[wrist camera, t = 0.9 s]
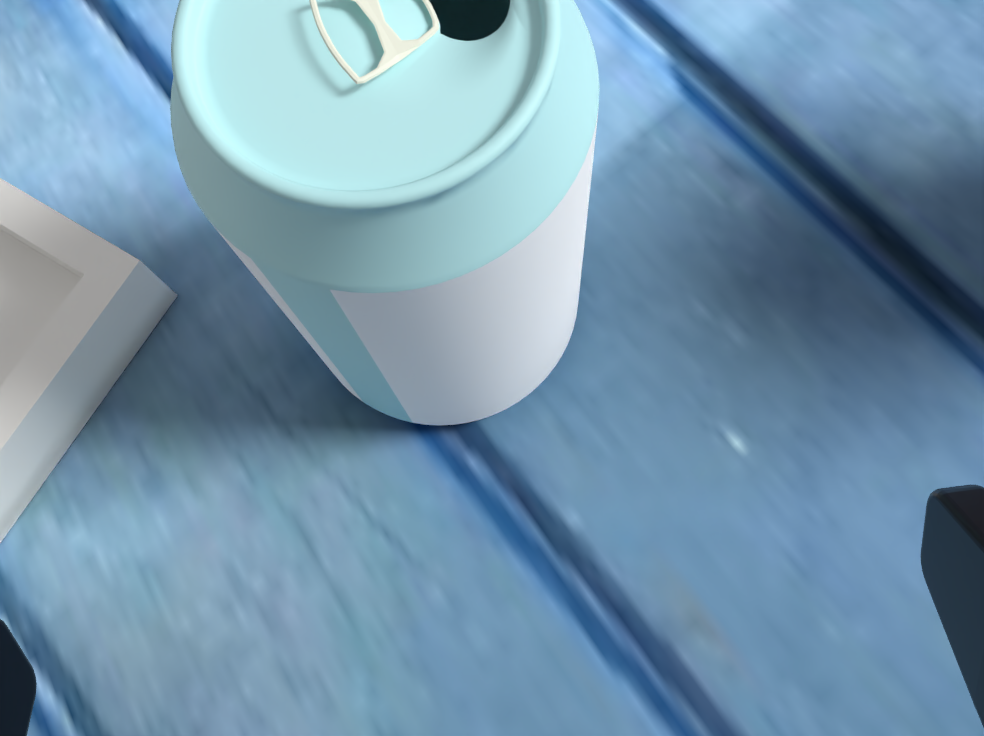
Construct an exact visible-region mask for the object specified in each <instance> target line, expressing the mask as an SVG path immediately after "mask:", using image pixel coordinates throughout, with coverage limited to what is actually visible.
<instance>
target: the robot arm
mask: <svg viewBox="0 0 984 736" xmlns="http://www.w3.org/2000/svg"><path fill="white" fill-rule="evenodd" d="M921 565H922V571H923V575H924V578H925V581H926V584H927V586H928V589H929V591H930V594H931V596H932V599H933V602H934V604H935V607H936V609H937V612H938V614H939V617H940V619H941V622H942V624H943V627H944V629H945V632H946V635H947V637H948V640H949V642H950V645H951V647H952V650H953V652H954V655H955V657H956V660H957V663H958V665H959V668H960V670H961V673H962V675H963V678H964V680H965V683H966V685H967V688H968V690H969V693H970V696H971V698H972V701H973V703H974V706H975V708H976V710H977V713H978V715H979V717H980V720H981V722H982V725H983V727H984V488H983V487H981V486H978V485H964V486H956V487H949V488H941V489H937V490H935V491H933V492H932V493H931V494H930V496H929V498H928V501H927V506H926V514H925V523H924V531H923V539H922V547H921ZM35 695H36V677H35V673H34V670H33V668H32V666H31V664H30V662H29V661H28V659H27V658H26V656H25V654H24V653H23V651H22V649H21V648H20V646H19V645H18V643H17V641H16V640H15V638H14V637H13V635H12V633H11V632H10V630H9V629H8V627H7V625H6V624H5V623H4V621H2V620H1V619H0V736H27V731H28V727H29V722H30V718H31V713H32V709H33V705H34V700H35Z"/></svg>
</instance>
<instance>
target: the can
mask: <svg viewBox="0 0 984 736" xmlns="http://www.w3.org/2000/svg"><path fill="white" fill-rule="evenodd" d="M171 58H172V70H173V76H174V78H173V84H172V91H171V106H170V110H171V127H172V134H173V140H174V146H175V152H176V155H177V159H178V162H179V166H180V169H181V172H182V174H183V177H184V179H185V182H186V184H187V186H188V188H189V190H190V192H191V194H192V196H193V198H194V199H195V201H196V203H197V204H198V206H199V207H200V209H201V210H202V212H203V213H204V214H205V216H206V217H207V219H208V220H209V221H210V222H211V224H212V225H213V226H214V227H215V228H216V230H217V231H218V232H219V233H220V235H221V236H222V237H223V238H224V240H225V241H226V242H227V243H228V244H229V246H230V247H231V248H232V249H233V251H234V252H235V253H236V254H237V256H238V257H239V258H240V259H241V261H242V262H243V263H244V264H245V265H246V267H247V268H248V269H249V270H250V272H251V273H252V274H253V275H254V277H255V278H256V279H257V280H258V281H259V283H260V284H261V285H262V286H263V288H264V289H265V290H266V291H267V293H268V294H269V295H270V296H271V297H272V299H273V300H274V301H275V302H276V304H277V305H278V306H279V307H280V309H281V310H282V311H283V312H284V313H285V315H286V316H287V317H288V318H289V320H290V321H291V322H292V323H293V325H294V326H295V327H296V328H297V329H298V331H299V332H300V333H301V334H302V336H303V337H304V338H305V339H306V341H307V342H308V343H309V344H310V345H311V347H312V348H313V349H314V350H315V352H316V353H317V354H318V355H319V357H320V358H321V359H322V360H323V361H324V363H325V364H326V365H327V366H328V368H329V369H330V370H331V371H332V373H333V374H334V375H335V376H336V377H337V379H338V380H339V381H340V382H341V383H342V384H343V385H344V386H345V387H346V388H347V389H348V390H349V391H350V392H351V393H352V394H353V395H354V396H356V397H357V398H358V399H360V400H361V401H362V402H364V403H365V404H367V405H369V406H370V407H372V408H374V409H375V410H378V411H380V412H382V413H384V414H386V415H388V416H391V417H394V418H397V419H400V420H404V421H408V422H412V423H418V424H425V425H455V424H462V423H468V422H472V421H476V420H480V419H483V418H486V417H489V416H492V415H494V414H496V413H499V412H501V411H503V410H505V409H507V408H509V407H510V406H512V405H514V404H516V403H517V402H519V401H520V400H522V399H523V398H524V397H526V396H527V395H528V394H530V393H531V392H532V391H533V390H534V389H535V388H536V387H538V386H539V385H540V384H541V383H542V382H543V380H544V379H545V378H546V377H547V376H548V375H549V374H550V372H551V371H552V370H553V368H554V367H555V366H556V364H557V363H558V361H559V359H560V358H561V356H562V355H563V353H564V351H565V349H566V347H567V344H568V342H569V340H570V337H571V334H572V332H573V328H574V324H575V320H576V315H577V308H578V300H579V290H580V280H581V271H582V261H583V252H584V242H585V232H586V223H587V213H588V204H589V194H590V184H591V175H592V165H593V156H594V146H595V136H596V127H597V117H598V107H599V76H598V66H597V61H596V56H595V51H594V47H593V44H592V41H591V38H590V34H589V31H588V29H587V27H586V25H585V22H584V20H583V18H582V15H581V13H580V11H579V9H578V7H577V5H576V4H575V2H574V0H180V1H179V5H178V8H177V12H176V15H175V20H174V26H173V31H172V44H171Z"/></svg>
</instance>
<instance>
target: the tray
mask: <svg viewBox="0 0 984 736" xmlns="http://www.w3.org/2000/svg"><path fill="white" fill-rule="evenodd" d="M177 296H178V295H177V294H176V293H175V292H174V291H173V290H172V289H171V288H169V287H168V286H167V285H166V284H165V283H164V282H163V281H162V280H161V279H160V278H159V277H158V276H156V275H155V274H154V273H153V272H152V271H151V270H150V269H149V268H148V267H147V266H146V265H145V264H143V263H142V262H141V261H140V260H139V259H137V258H135V257H133V256H132V255H130V254H128V253H127V252H125V251H123V250H122V249H120V248H118V247H116V246H115V245H113V244H111V243H110V242H108V241H106V240H105V239H103V238H101V237H99V236H98V235H96V234H94V233H93V232H91V231H89V230H88V229H86V228H84V227H82V226H81V225H79V224H77V223H76V222H74V221H72V220H71V219H69V218H67V217H65V216H64V215H62V214H60V213H59V212H57V211H55V210H54V209H52V208H50V207H48V206H47V205H45V204H43V203H42V202H40V201H38V200H37V199H35V198H33V197H31V196H30V195H28V194H26V193H25V192H23V191H21V190H19V189H18V188H16V187H14V186H13V185H11V184H9V183H8V182H6V181H4V180H2V179H1V178H0V543H1V542H2V540H3V539H4V537H5V536H6V535H7V533H8V532H9V530H10V529H11V528H12V526H13V525H14V523H15V522H16V521H17V519H18V518H19V516H20V515H21V514H22V512H23V511H24V509H25V508H26V507H27V505H28V504H29V503H30V501H31V500H32V498H33V497H34V496H35V494H36V493H37V491H38V490H39V489H40V487H41V486H42V484H43V483H44V482H45V480H46V479H47V477H48V476H49V475H50V473H51V472H52V470H53V469H54V468H55V466H56V465H57V463H58V462H59V461H60V459H61V458H62V456H63V455H64V454H65V452H66V451H67V449H68V448H69V447H70V445H71V444H72V442H73V441H74V440H75V438H76V437H77V435H78V434H79V433H80V431H81V430H82V429H83V427H84V426H85V424H86V423H87V422H88V420H89V419H90V417H91V416H92V415H93V413H94V412H95V410H96V409H97V408H98V406H99V405H100V403H101V402H102V401H103V399H104V398H105V396H106V395H107V394H108V392H109V391H110V389H111V388H112V387H113V385H114V384H115V382H116V381H117V380H118V378H119V377H120V375H121V374H122V373H123V371H124V370H125V368H126V367H127V366H128V364H129V363H130V362H131V360H132V359H133V357H134V356H135V355H136V353H137V352H138V350H139V349H140V348H141V346H142V345H143V343H144V342H145V341H146V339H147V338H148V336H149V335H150V334H151V332H152V331H153V329H154V328H155V327H156V325H157V324H158V322H159V321H160V320H161V318H162V317H163V315H164V314H165V313H166V311H167V310H168V308H169V307H170V306H171V304H172V303H173V301H174V300H175V299H176V297H177Z"/></svg>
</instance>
